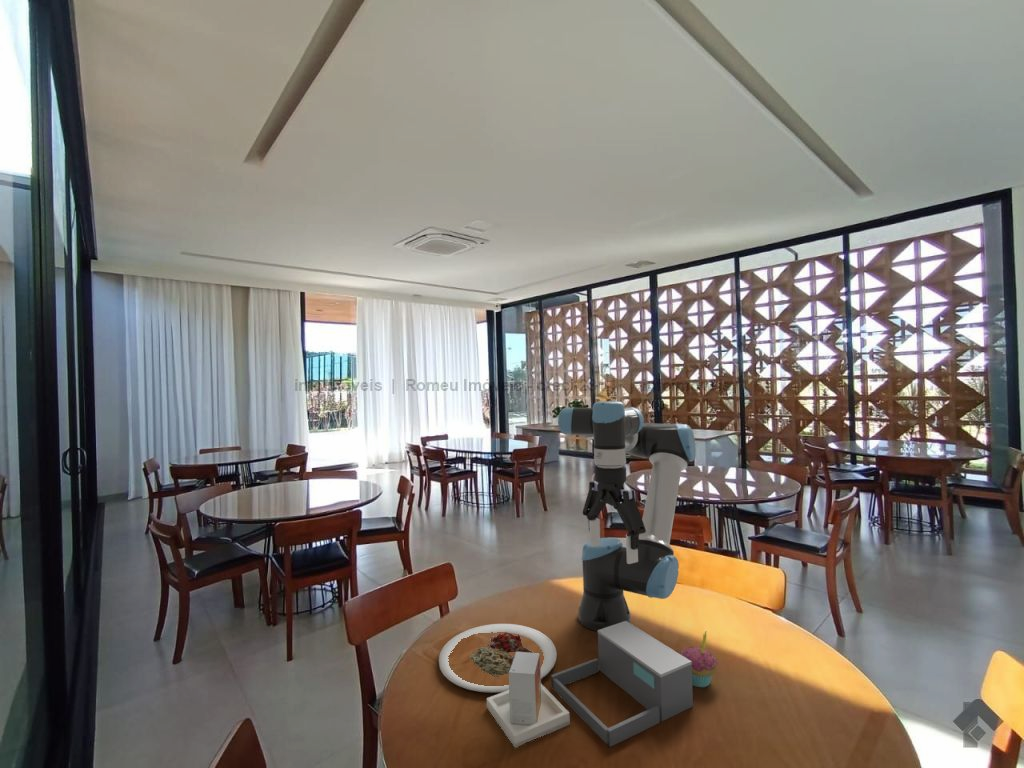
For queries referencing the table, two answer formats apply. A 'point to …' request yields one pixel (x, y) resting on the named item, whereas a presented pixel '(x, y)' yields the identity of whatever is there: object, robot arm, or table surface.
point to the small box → (525, 688)
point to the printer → (633, 680)
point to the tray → (518, 734)
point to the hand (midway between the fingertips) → (612, 553)
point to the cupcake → (701, 664)
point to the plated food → (498, 653)
